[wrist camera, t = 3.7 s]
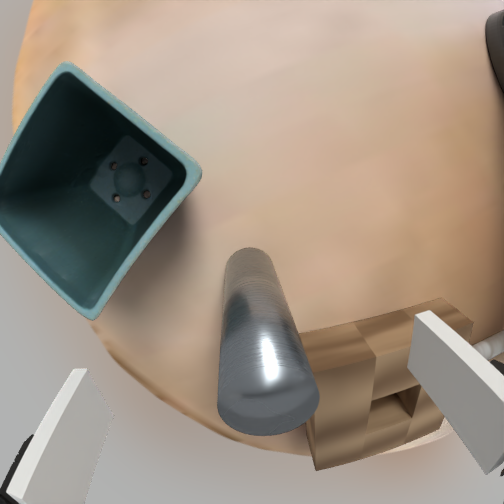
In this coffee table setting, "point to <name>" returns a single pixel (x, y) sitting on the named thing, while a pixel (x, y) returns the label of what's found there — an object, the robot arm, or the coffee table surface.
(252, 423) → the grey metal peg
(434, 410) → the block
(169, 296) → the coffee table surface
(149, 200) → the flower pot
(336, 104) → the coffee table surface
